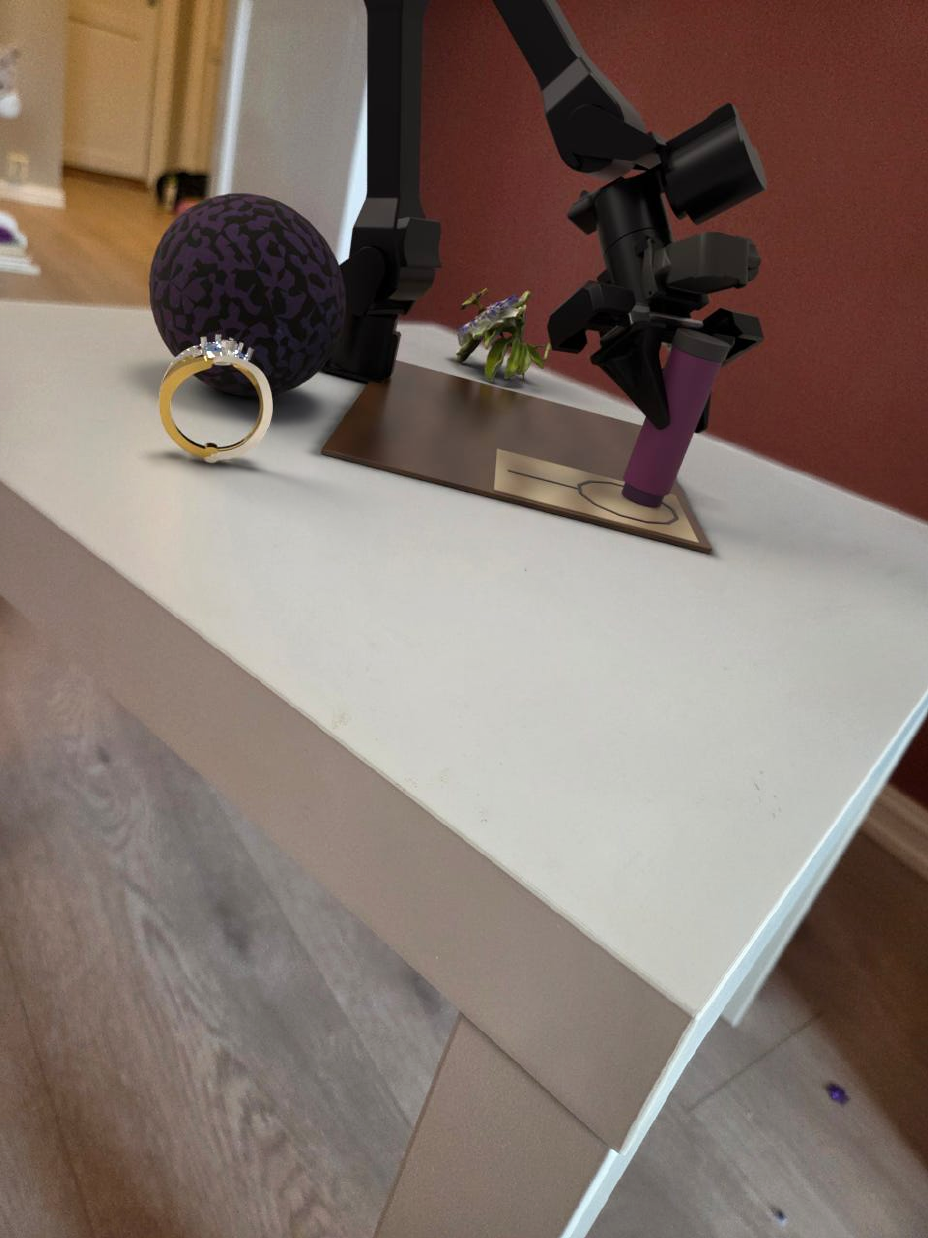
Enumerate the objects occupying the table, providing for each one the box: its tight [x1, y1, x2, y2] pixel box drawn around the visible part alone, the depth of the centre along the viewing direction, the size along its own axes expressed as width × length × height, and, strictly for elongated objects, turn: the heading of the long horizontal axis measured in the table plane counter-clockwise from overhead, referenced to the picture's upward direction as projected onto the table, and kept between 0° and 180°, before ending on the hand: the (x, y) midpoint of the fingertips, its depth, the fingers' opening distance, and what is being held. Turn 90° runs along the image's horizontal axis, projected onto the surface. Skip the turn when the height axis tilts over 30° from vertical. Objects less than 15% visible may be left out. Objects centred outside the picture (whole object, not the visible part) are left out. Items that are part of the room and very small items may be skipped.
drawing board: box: [320, 359, 713, 555], centre depth 81 cm, size 30×36×1 cm
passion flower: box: [454, 287, 552, 383], centre depth 104 cm, size 11×11×12 cm
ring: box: [158, 333, 273, 464], centre depth 56 cm, size 7×3×8 cm, turn 107°
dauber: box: [622, 328, 730, 508], centre depth 70 cm, size 4×4×13 cm
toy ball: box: [148, 192, 346, 398], centre depth 69 cm, size 15×15×15 cm
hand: (682, 429), depth 69 cm, fingers closed on dauber, 4 cm apart
